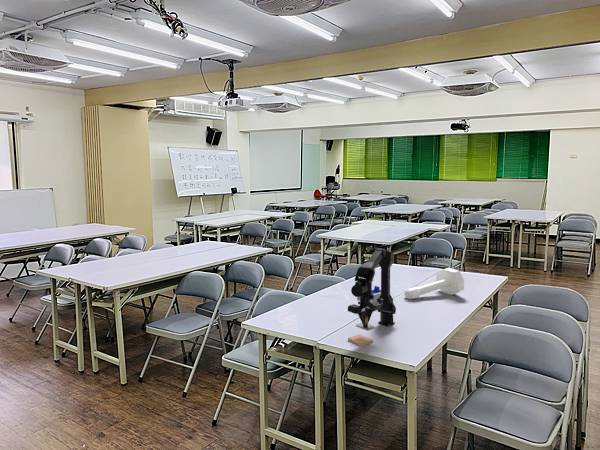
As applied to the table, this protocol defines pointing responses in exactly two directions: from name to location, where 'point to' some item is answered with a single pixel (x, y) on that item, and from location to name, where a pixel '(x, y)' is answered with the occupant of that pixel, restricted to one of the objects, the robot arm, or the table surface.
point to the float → (365, 325)
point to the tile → (360, 340)
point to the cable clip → (375, 290)
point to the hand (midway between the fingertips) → (365, 323)
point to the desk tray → (376, 294)
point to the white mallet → (440, 284)
